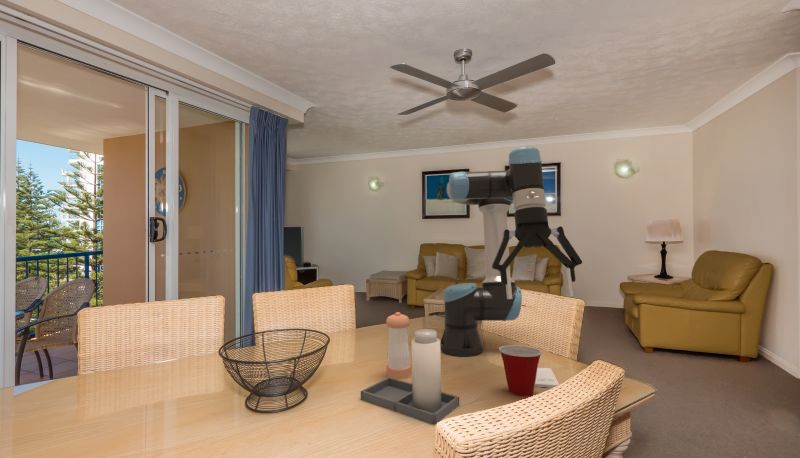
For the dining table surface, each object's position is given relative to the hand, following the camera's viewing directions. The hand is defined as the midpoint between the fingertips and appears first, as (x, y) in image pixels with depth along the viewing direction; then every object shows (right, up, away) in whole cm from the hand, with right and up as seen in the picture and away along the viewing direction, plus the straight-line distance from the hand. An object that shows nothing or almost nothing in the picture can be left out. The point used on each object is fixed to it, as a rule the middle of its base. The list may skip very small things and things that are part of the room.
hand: (539, 298), depth 88 cm
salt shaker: (-26, -26, +2) cm, 37 cm away
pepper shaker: (-33, -28, +23) cm, 49 cm away
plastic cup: (-1, -27, +10) cm, 29 cm away
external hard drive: (+8, -28, +20) cm, 35 cm away
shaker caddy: (-30, -27, +5) cm, 41 cm away
